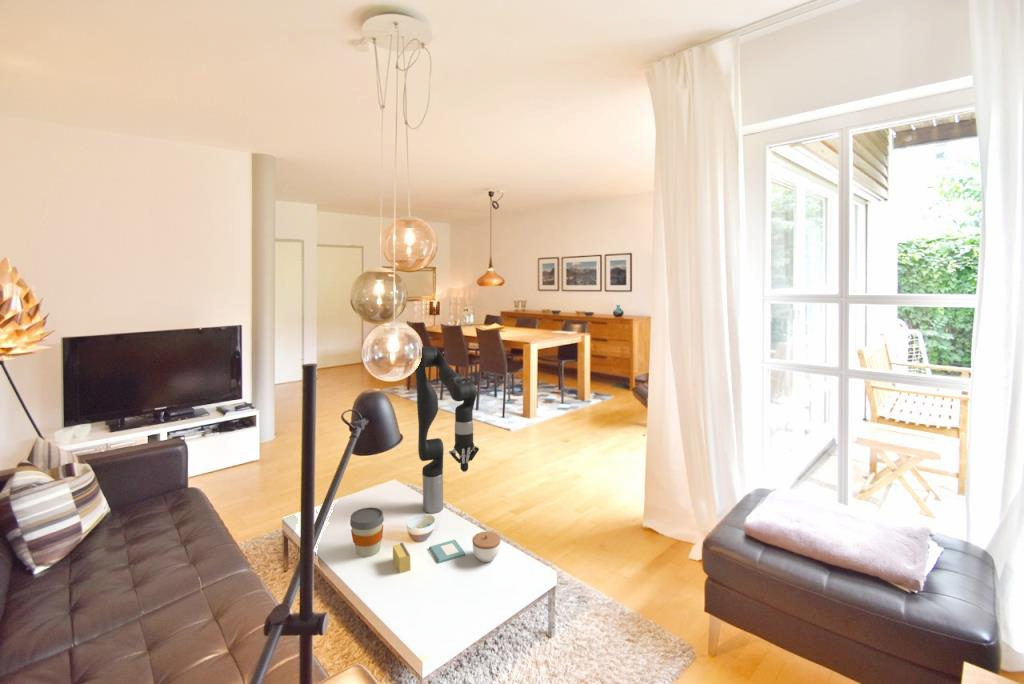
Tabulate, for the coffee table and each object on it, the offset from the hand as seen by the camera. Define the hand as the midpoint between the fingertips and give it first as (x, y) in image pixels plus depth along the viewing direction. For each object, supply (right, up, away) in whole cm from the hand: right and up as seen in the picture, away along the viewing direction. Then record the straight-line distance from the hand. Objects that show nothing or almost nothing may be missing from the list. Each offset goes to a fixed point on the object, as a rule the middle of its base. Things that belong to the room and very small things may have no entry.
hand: (464, 470), depth 202 cm
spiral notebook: (-6, -29, -11) cm, 31 cm away
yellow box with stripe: (-22, -30, -19) cm, 42 cm away
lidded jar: (+10, -30, -14) cm, 34 cm away
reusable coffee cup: (-37, -29, -10) cm, 48 cm away
